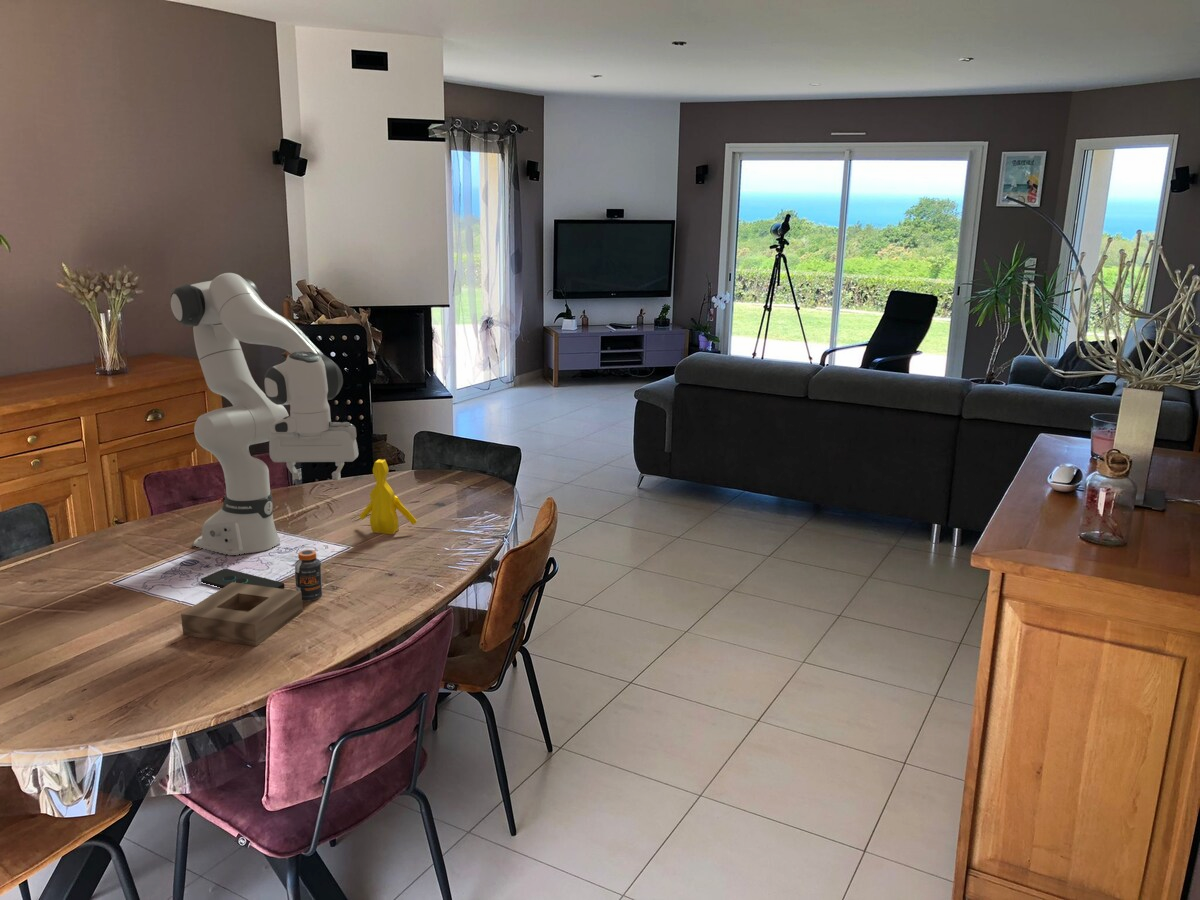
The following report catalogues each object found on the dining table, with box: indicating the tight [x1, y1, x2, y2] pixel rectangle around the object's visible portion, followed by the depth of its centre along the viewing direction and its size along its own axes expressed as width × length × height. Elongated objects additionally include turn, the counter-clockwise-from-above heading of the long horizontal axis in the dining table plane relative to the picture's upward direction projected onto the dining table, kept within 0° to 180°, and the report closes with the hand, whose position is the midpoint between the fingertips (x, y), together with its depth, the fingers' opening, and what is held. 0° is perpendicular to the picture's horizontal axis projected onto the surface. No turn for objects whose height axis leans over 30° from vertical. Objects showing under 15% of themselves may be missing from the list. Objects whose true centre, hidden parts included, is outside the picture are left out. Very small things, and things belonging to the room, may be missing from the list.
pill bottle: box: [294, 549, 323, 602], centre depth 219 cm, size 6×6×11 cm
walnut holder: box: [180, 582, 303, 647], centre depth 205 cm, size 18×18×5 cm
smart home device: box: [200, 568, 285, 589], centre depth 225 cm, size 8×2×20 cm
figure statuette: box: [359, 459, 418, 535], centre depth 261 cm, size 18×8×22 cm, turn 78°
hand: (316, 479), depth 217 cm, fingers open, 8 cm apart
